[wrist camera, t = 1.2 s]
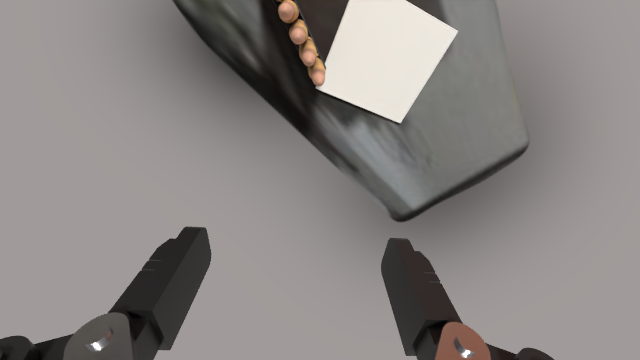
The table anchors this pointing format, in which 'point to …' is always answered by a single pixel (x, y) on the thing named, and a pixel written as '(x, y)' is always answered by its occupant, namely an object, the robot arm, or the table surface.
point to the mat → (384, 55)
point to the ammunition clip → (302, 39)
